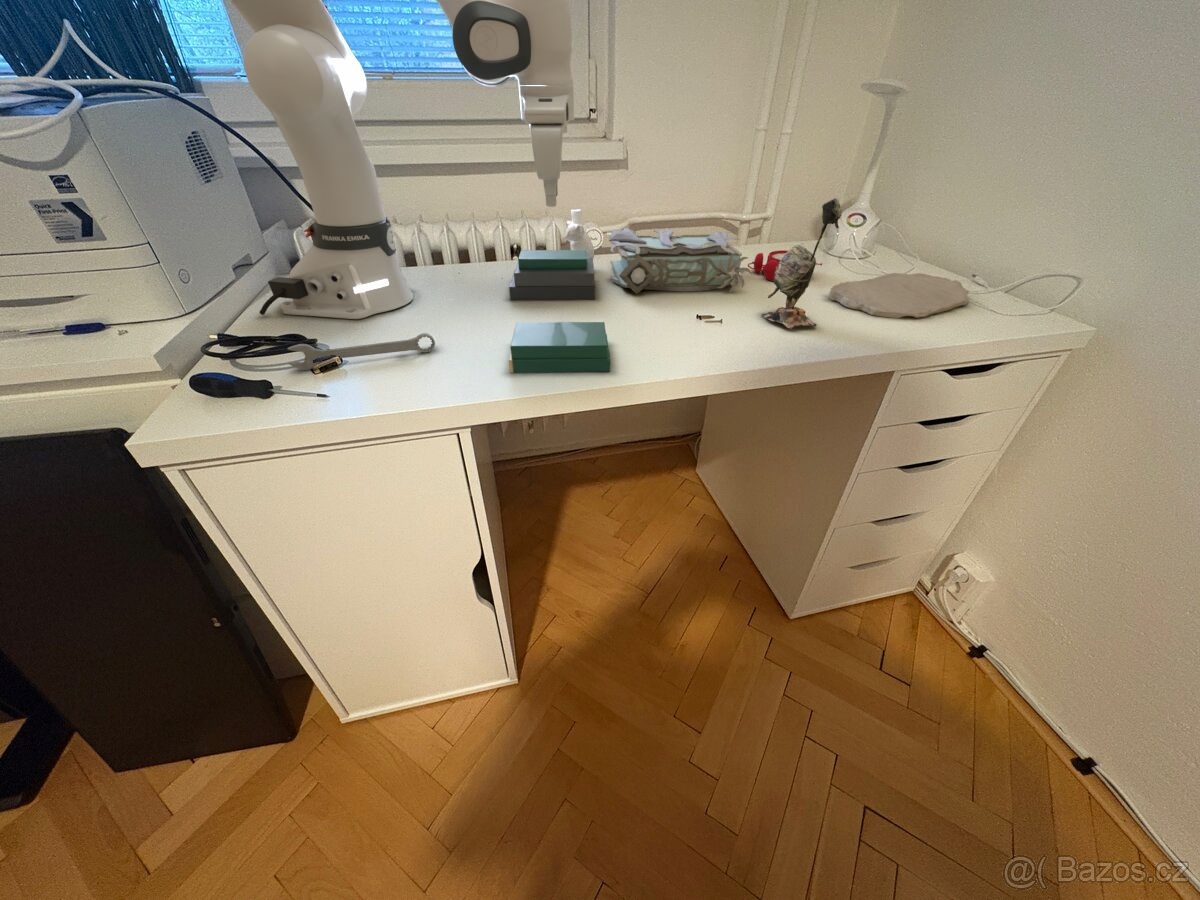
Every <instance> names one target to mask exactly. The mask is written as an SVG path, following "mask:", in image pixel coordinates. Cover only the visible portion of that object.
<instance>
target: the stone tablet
mask: <svg viewBox="0 0 1200 900" xmlns="http://www.w3.org/2000/svg"><path fill="white" fill-rule="evenodd" d="M962 284H963V283H962V282H961V281H959V280H956V279H950V278H947V277H943V276H942V277H941V276H935V275H930V274H926V273H921V272H920V273H919V272H918V273H902V272H892V273H887V274H885V275H881V276H880V275H879V276H877V277H873V278H868V279H863V280H853V281H845V282H839V283H837V284H834V285H833V286H832V287H831V288H830V290H829V293H828V297H829V299H830V300H831V301H836V302H838V303H840V304H841V305H843V306H844V307H846V308H848V309H851V310H859V311H860V310H861V311H863V312H865V313H867V314H869V315H871V316H874V317H875V316H876V317H884V318H890V319H900V318H904V317H913V318H915V319H916V318H925V317H929V316H931V315H933V314H939V313H943V312H946V311H950V310H952V309H954V308H957V307H961V306H966V305H967V304H968V303H969V302H970V297H968V294H969V290H968V289H966V288H965V287H964V286H962Z"/></svg>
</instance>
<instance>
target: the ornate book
mask: <svg viewBox="0 0 1200 900" xmlns="http://www.w3.org/2000/svg"><path fill="white" fill-rule="evenodd" d="M663 229H664V230H665V231H663V230H660V229H654V230H653V232H654V233H657V234H658V236H657V235H654V234H637V231H636V230H633V229H630V228H628V227H625V226H623V227H622V229H612V231H609V232H606V235H608V236H609V240H608V241H609V242H610V244H612V246H610V248H609V251H610V252H612V253H613V254H615V251H614V249H615V248H616V250H617V251H618V254H619V256H620V260H610V265H611V267H612V269H613V272H614V274H615V276H614V275H610V280H611V282H613V283H614V284H616V285H618V286H621V287H622V288H625V289H630V290H632V291H633V292H634V293H635V294H636V295H638V294H639V293H640V292H641V291H642V290H648V291H649V290H650V291H651V290H652V291H653V290H654V291H655V290H656V291H665V292H667V291H668V292H701V291H709V290H716V289H724V288H725V287H727V286H731V287H730V290H729V291H728V293H731V292H733V291H734V289H735V288H736V284H737V283H738V282H741V288H742V289H743V288H744V286H745V279H744V277H743V275H742V274H744V273H745V272H746V273H749V274H751V276H752V274H753V273H752V272H751V269H750V268H749V267H741V264H742V262H743V261H745V260H747V259H749V257H748V256H742V255H743V253H742V252H741V251H739V250H738V249H737V248H735V247H734V246H733V245H732V244H730V243H729V242H728V241H727V240H739V241H740V238H738V237H733V236H732V237H728V235H729V234H730V233H731V231H717V232H714V233H702V234H701V233H700V234H685V233H683V234H681V233H680V234H677V235H674V230H672V229H670V228H667V227H664V228H663Z"/></svg>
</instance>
